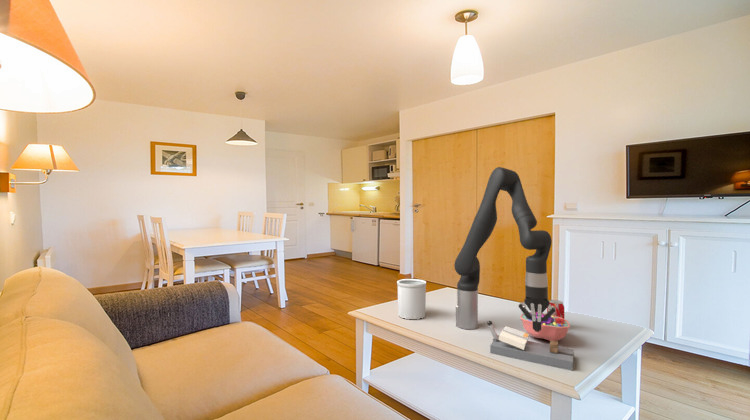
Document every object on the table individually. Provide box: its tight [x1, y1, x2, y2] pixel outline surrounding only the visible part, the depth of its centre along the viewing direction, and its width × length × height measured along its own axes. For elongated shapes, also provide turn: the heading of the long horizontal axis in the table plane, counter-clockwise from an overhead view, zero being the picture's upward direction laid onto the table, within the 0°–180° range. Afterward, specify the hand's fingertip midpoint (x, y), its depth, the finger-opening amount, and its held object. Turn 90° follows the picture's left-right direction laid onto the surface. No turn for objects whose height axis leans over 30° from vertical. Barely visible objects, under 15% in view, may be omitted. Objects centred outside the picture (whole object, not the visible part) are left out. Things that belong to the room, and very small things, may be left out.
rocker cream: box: [499, 330, 527, 350], centre depth 128 cm, size 9×5×2 cm, turn 58°
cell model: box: [519, 311, 571, 342], centre depth 144 cm, size 17×20×11 cm
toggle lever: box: [486, 320, 498, 340], centre depth 135 cm, size 2×2×7 cm
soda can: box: [546, 299, 566, 319], centre depth 157 cm, size 7×7×12 cm
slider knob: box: [549, 340, 559, 353], centre depth 124 cm, size 2×4×3 cm, turn 148°
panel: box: [489, 334, 575, 372], centre depth 128 cm, size 28×12×3 cm, turn 58°
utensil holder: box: [396, 278, 427, 320], centre depth 175 cm, size 15×15×18 cm
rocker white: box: [502, 325, 530, 343], centre depth 134 cm, size 9×5×2 cm, turn 58°
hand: (537, 331), depth 127 cm, fingers closed
